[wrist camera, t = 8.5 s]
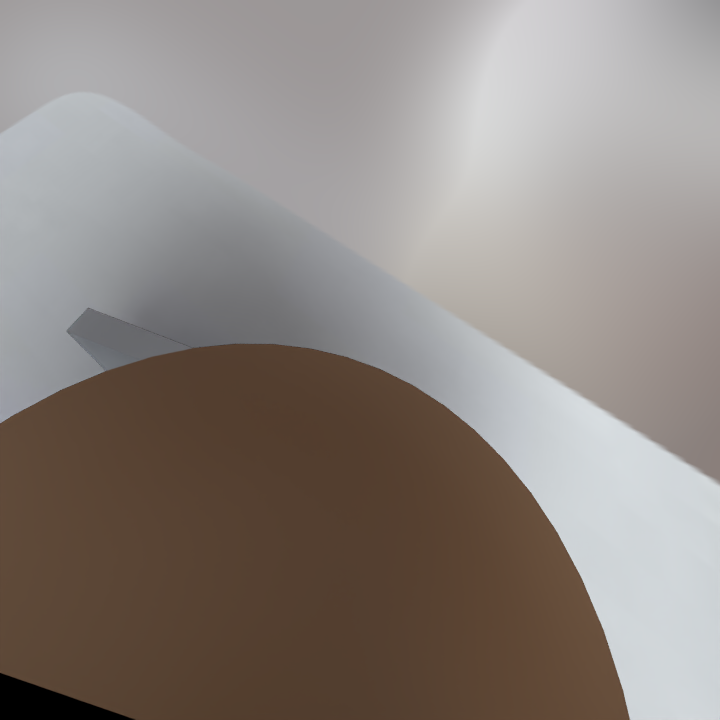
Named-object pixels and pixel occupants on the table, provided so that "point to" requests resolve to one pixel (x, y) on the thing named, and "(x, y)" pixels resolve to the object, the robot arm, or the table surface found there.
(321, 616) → the walnut post
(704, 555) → the table surface
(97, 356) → the channel
